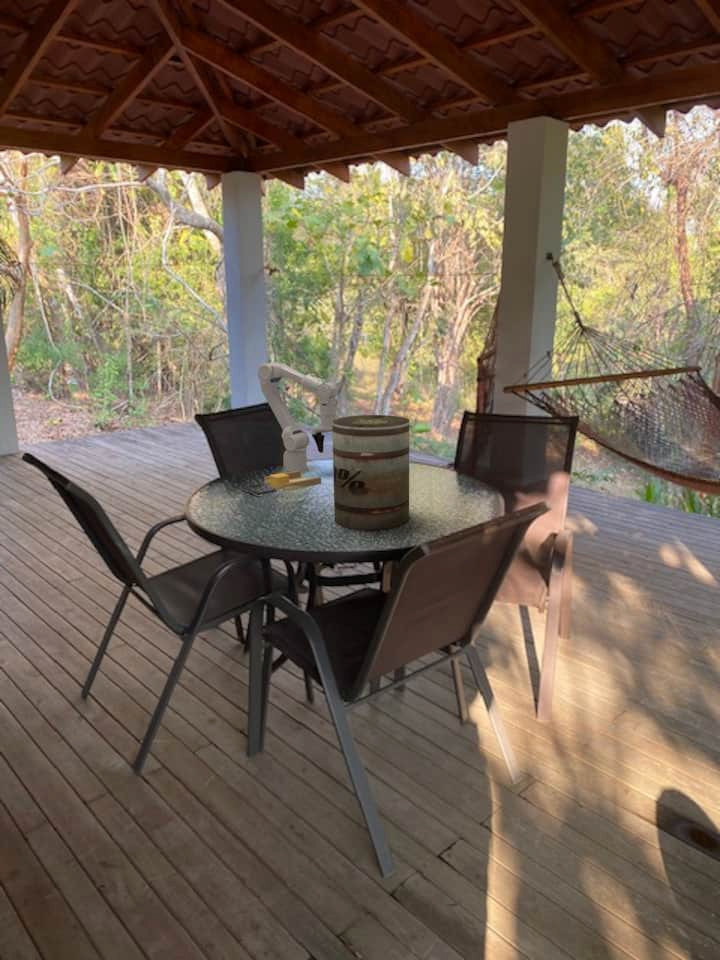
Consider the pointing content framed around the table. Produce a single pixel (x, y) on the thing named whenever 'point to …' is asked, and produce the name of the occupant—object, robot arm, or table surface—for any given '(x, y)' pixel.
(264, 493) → the pit tray
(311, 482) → the channel
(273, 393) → the robot arm
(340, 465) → the barrel
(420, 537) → the table surface
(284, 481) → the block
